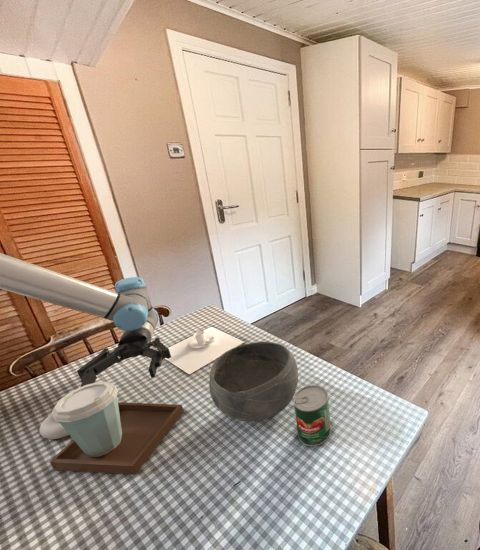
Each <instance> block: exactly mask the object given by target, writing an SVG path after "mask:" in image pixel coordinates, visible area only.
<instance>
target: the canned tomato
mask: <svg viewBox="0 0 480 550" xmlns="http://www.w3.org/2000/svg"><path fill="white" fill-rule="evenodd" d="M292 402H293V404H294V405H293V406H294V413H295V421H296V429H297V436H298V437H297V438H298V440H299V442H300V443H302V444H303V445H305V446H307V447H317V446H320V445H322V444H324V443H325V442H326V441H327V440H328V439H329V437H331V434H332V427H331V415H330V401H329V392H328V391H327V389H326V388H325V387H323V386H321V385H316V384H309V385H307V386H304V387H302V388H300V389H299V390H297V392H295V394H294V396H293V401H292Z"/></svg>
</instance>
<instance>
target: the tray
mask: <svg viewBox="0 0 480 550" xmlns="http://www.w3.org/2000/svg"><path fill="white" fill-rule="evenodd" d="M118 406H119V414H120V422H121V429H122V437H121V441H120V443H119V444H118V445H117V447H116V448H115V449H113V450H112V451H110V452H109V453H107V454H105V455H102V456H99V457H89V456H86V454H85V453H84V452H83V451H82V449H81V448H80V447H79V446H78V445H77V443H76V442H75V441H74V440H73V439H72V440H71V441H69V442H68V444H66V446H64V447H63V448H62V449H61V450H60V451H59V452H58V453H57V454H56V455H55V456H54V457H52V459H50V460H49V461H48V462H49V464H50V466H51V467H52V469H53V471H64V472H65V471H67V472H84V473H85V472H86V473H104V474H120V475H122V474H123V475H137V474H138V473H139V471H140V470H141V469H142V468H143V466H144V465H145V464H146V462H147V461H148V459H149V458H150V457H151V456H152V454H153V453H154V452H155V450H156V449H157V448H158V446H159V445H160V444H161V443H162V441H163V440H164V439H165V438H166V436H167V435H168V434H169V432H170V431H171V430H172V428H174V426H175V425H176V423H177V422H178V421H179V419H180V418H181V417H182V416H183V414H184V413H185V411H184V408H183V405H182V404H174V403H173V404H172V403H171V404H170V403H148V402H121V401H118Z"/></svg>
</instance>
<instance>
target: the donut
mask: <svg viewBox="0 0 480 550" xmlns="http://www.w3.org/2000/svg"><path fill="white" fill-rule="evenodd" d="M38 432H39V434H40V435H41V437H42V438H44V439H48V440H57V439H63V438H65V437H68V436H70V435H69V434H68V432H67V431H66V430H65V429H64V428H63V426H62V425H61V424H60V423H59V422H57V421H56V420H55V418H54V417H53V413H52V412H51V413H50V414H49V415H48V416H47V417H45V418H44V419H43V421H42V423H41V424H40V426H39V431H38Z"/></svg>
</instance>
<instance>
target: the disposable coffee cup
mask: <svg viewBox="0 0 480 550" xmlns="http://www.w3.org/2000/svg"><path fill="white" fill-rule="evenodd" d="M118 393H119V390H118V388H117V387H116V386H115V385H114V384H113V383H112V382H110V381H95V382H94V383H92V384H88V385H85V386H82V387H78V388H76V389H74V390H71V391H70V392H68V393H67V394H66V395H64V396H63V397H61V398H60V399H59V400H58V401H57V403H56V404H55V406H54V407H53V409H52V411H51V414H52V413H53V417H54V418H55V420H56V421H57V422H59V423H60V424H61V425H62V426H63V428H64V429H65V430H66V431H67V432H68V434H69V435H68V436H69V437H70V438H71V439H72V440H74V441H75V442H76V443H77V445H78V446H79V447H80V448H81V449H82V451H83V452H84V453H85V454H86V456H89V457H99V456H102V455H105V454H107V453H109V452H110V451H112V450H113V449H115V448H116V447H117V445H118V444H119V443H120V441H121V437H122V429H121V422H120V414H119V406H118V402H119V399H118Z"/></svg>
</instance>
